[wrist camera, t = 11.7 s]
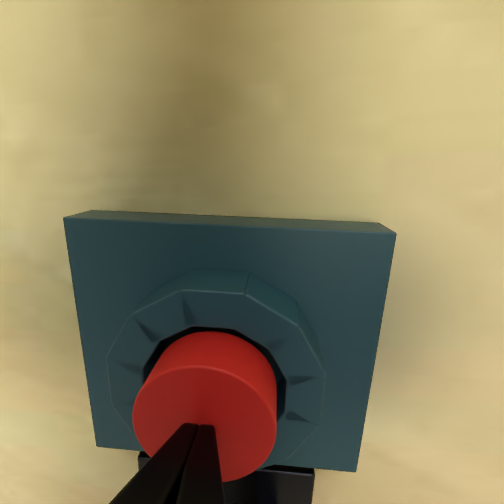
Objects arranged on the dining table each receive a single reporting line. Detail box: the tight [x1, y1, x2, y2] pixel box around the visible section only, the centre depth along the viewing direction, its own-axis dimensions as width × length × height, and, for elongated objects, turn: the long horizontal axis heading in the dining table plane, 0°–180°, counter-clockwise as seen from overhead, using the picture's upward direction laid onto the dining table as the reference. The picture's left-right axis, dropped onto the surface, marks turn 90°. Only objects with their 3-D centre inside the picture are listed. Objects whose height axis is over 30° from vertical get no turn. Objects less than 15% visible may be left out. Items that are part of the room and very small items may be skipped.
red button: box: [132, 331, 277, 482], centre depth 9 cm, size 4×4×2 cm
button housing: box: [63, 210, 396, 472], centre depth 11 cm, size 10×11×4 cm
